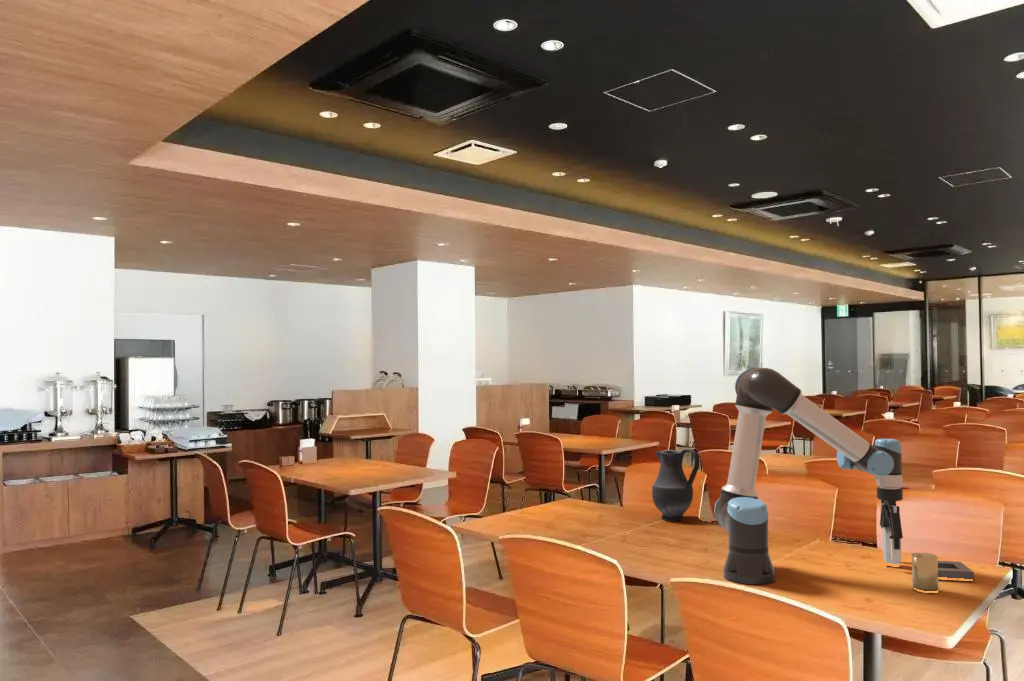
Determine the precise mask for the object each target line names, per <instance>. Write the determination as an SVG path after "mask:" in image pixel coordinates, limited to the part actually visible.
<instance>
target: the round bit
mask: <svg viewBox="0 0 1024 681" xmlns="http://www.w3.org/2000/svg"><path fill="white" fill-rule="evenodd" d="M938 561H939V559H938V555H937V554H936V555H935V554H934V553H928V552H912V553H911V574H912V575H911V576H912V581H911V582H912V589H913V588H916V589H919V590H923V591H937V590H938V589H939V580H938ZM939 590H940V589H939Z"/></svg>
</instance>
